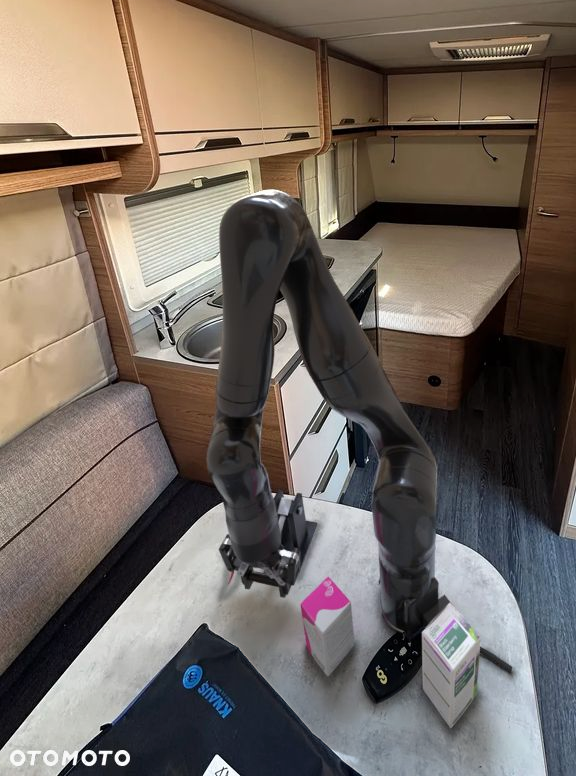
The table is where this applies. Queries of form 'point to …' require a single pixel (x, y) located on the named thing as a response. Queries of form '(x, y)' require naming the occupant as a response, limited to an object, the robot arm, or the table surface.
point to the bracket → (296, 526)
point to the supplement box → (328, 625)
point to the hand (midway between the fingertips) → (267, 587)
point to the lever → (283, 513)
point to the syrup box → (450, 663)
